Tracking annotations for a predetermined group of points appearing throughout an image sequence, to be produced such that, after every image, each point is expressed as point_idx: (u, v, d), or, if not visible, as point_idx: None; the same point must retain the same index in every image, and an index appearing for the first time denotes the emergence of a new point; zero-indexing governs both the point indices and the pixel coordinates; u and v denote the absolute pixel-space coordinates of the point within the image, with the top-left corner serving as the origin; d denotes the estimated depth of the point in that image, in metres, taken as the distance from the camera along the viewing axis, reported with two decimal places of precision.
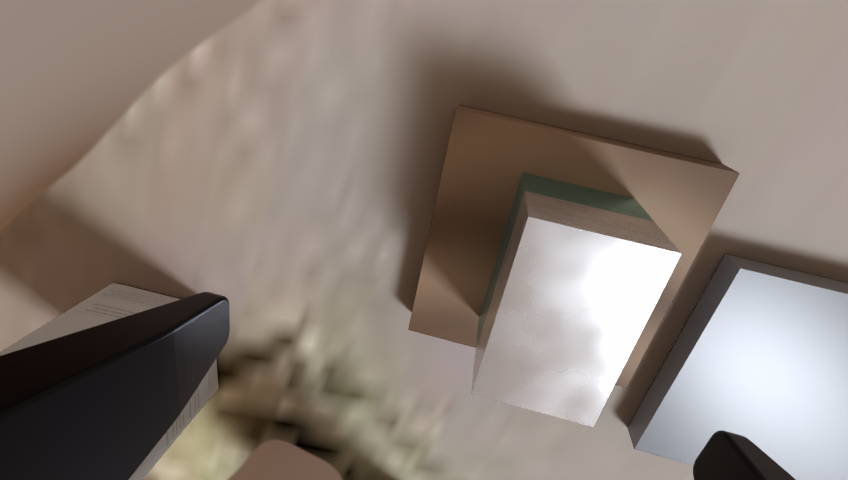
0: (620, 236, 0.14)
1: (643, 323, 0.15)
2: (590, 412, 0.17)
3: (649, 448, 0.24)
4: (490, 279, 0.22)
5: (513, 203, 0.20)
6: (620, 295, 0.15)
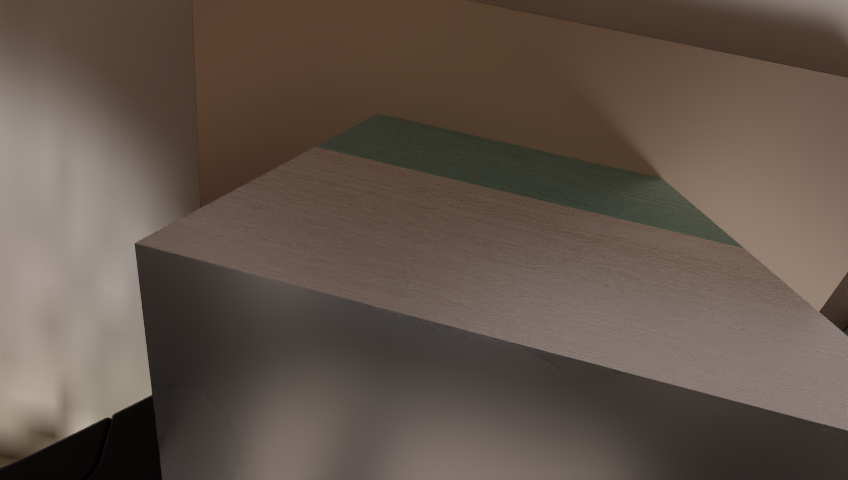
0: (629, 345, 0.03)
1: None
2: None
3: None
4: None
5: None
6: None
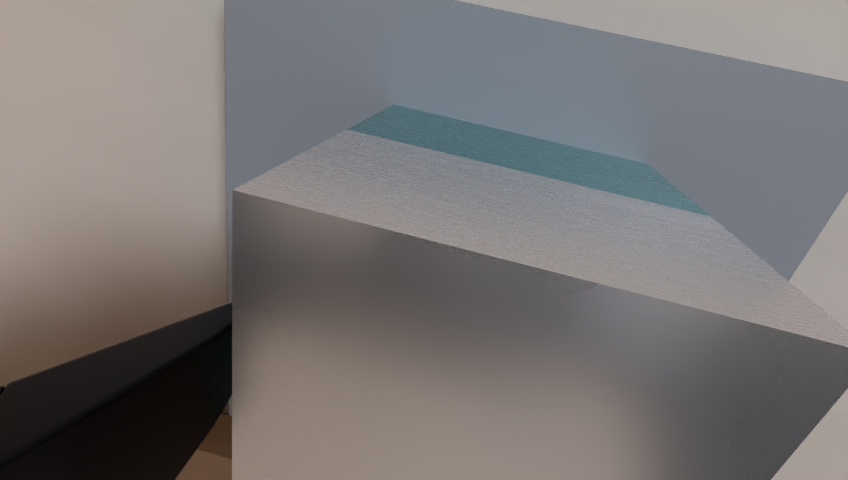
0: (606, 270, 0.04)
1: None
2: None
3: None
4: None
5: None
6: None
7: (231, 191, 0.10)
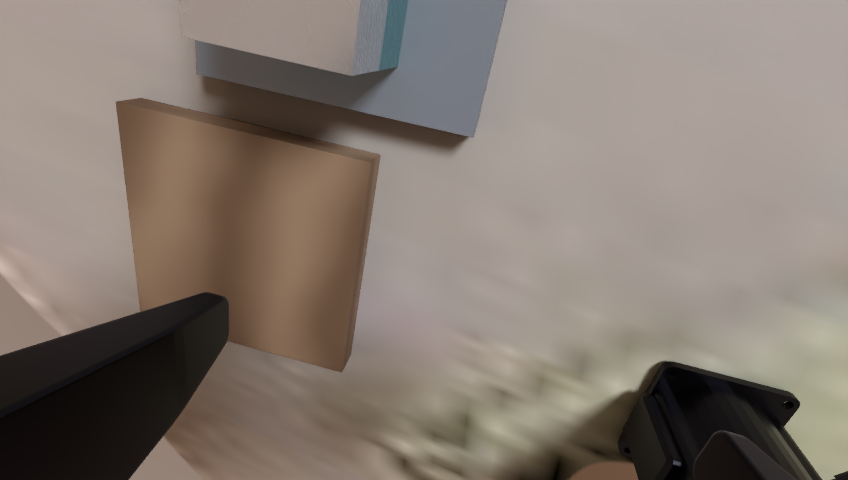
0: None
1: None
2: (341, 47, 0.12)
3: (469, 117, 0.17)
4: None
5: None
6: None
7: None
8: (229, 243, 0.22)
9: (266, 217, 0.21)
